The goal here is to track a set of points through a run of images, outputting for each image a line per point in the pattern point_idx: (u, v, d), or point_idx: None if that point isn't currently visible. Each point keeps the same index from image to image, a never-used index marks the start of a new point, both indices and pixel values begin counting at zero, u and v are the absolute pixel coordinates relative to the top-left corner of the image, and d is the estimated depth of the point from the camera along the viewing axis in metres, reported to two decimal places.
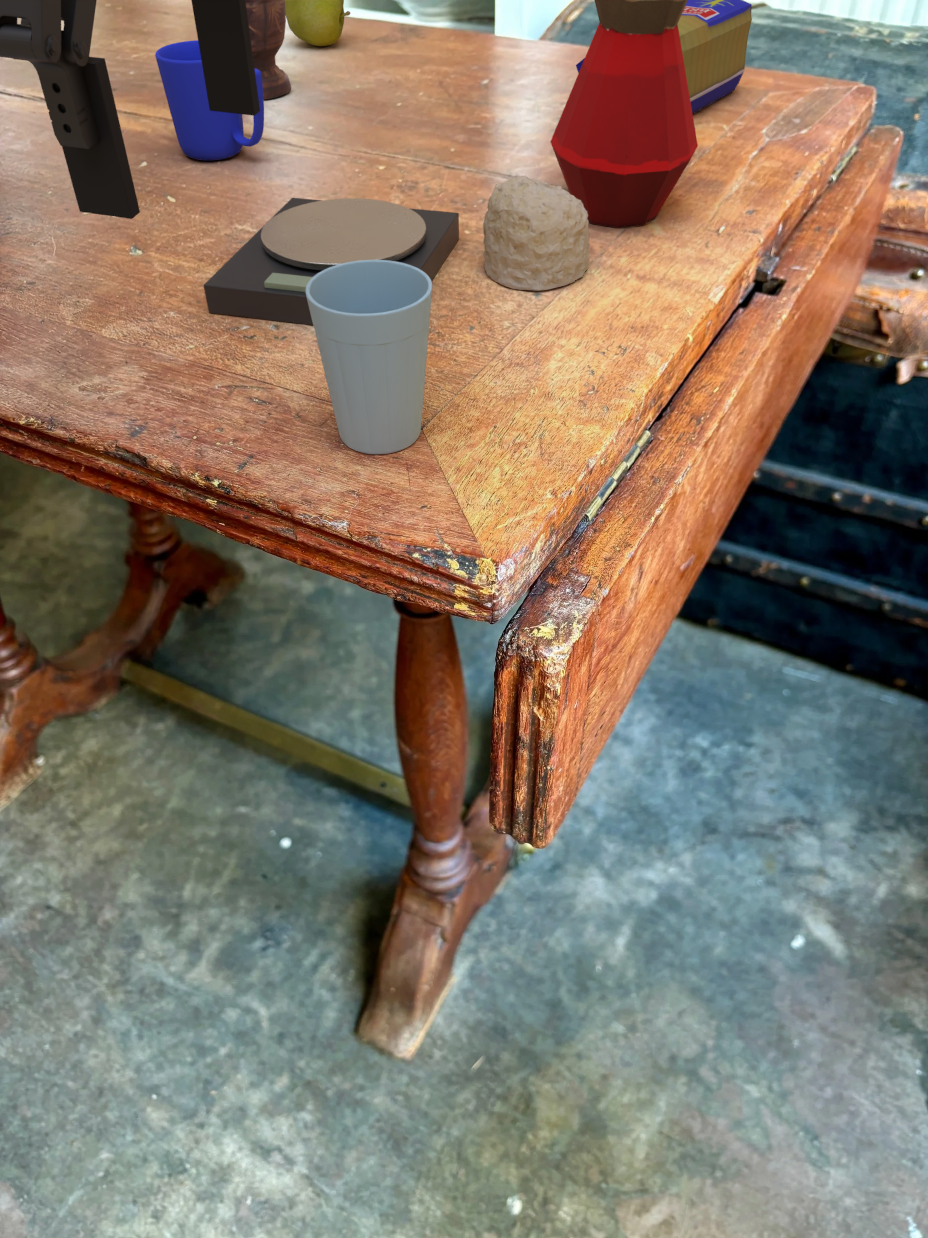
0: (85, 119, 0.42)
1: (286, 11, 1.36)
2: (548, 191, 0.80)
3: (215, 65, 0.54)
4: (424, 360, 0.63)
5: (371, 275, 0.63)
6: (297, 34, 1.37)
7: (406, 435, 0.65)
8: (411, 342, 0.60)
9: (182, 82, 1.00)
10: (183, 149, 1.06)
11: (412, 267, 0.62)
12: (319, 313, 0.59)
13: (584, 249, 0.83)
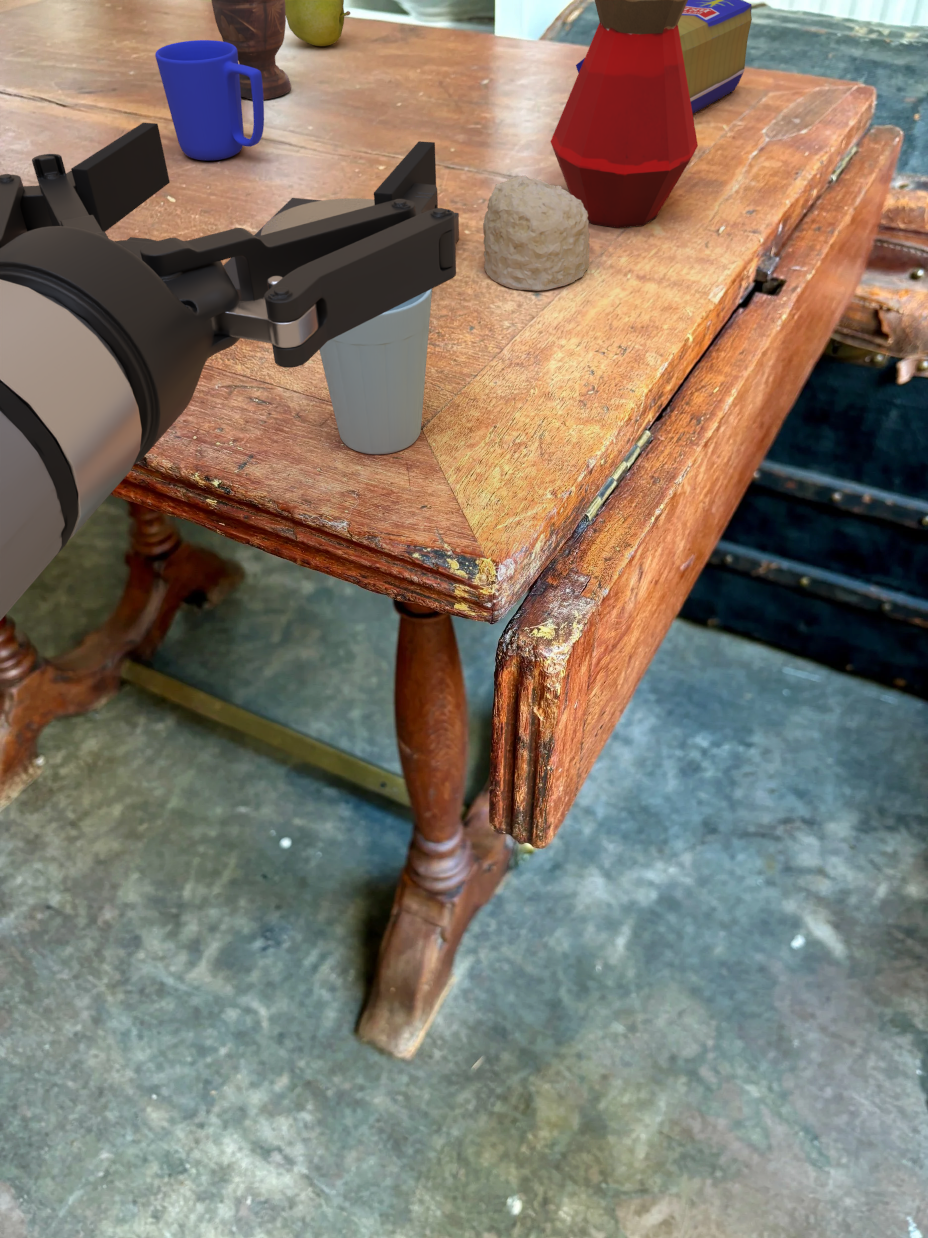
0: None
1: (286, 11, 1.36)
2: (548, 191, 0.80)
3: None
4: (424, 360, 0.63)
5: None
6: (297, 34, 1.37)
7: (406, 435, 0.65)
8: (411, 342, 0.60)
9: (182, 82, 1.00)
10: (183, 149, 1.06)
11: None
12: None
13: (584, 249, 0.83)
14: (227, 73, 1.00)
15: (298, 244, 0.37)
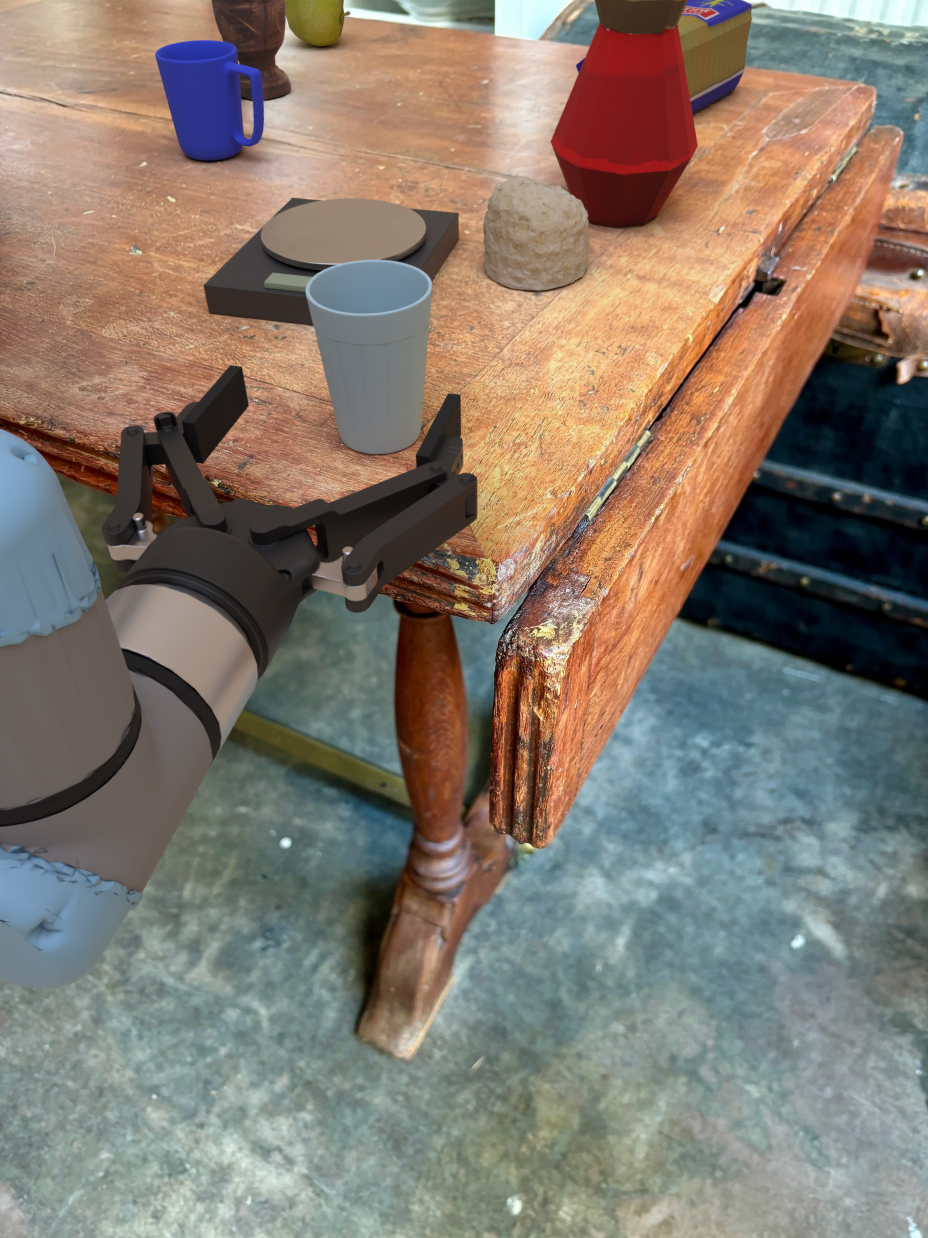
0: None
1: (286, 11, 1.36)
2: (548, 191, 0.80)
3: None
4: (424, 360, 0.63)
5: (371, 275, 0.63)
6: (297, 34, 1.37)
7: (406, 435, 0.65)
8: (411, 342, 0.60)
9: (182, 82, 1.00)
10: (183, 149, 1.06)
11: (412, 267, 0.62)
12: (319, 313, 0.59)
13: (584, 249, 0.83)
14: (227, 73, 1.00)
15: (361, 509, 0.50)
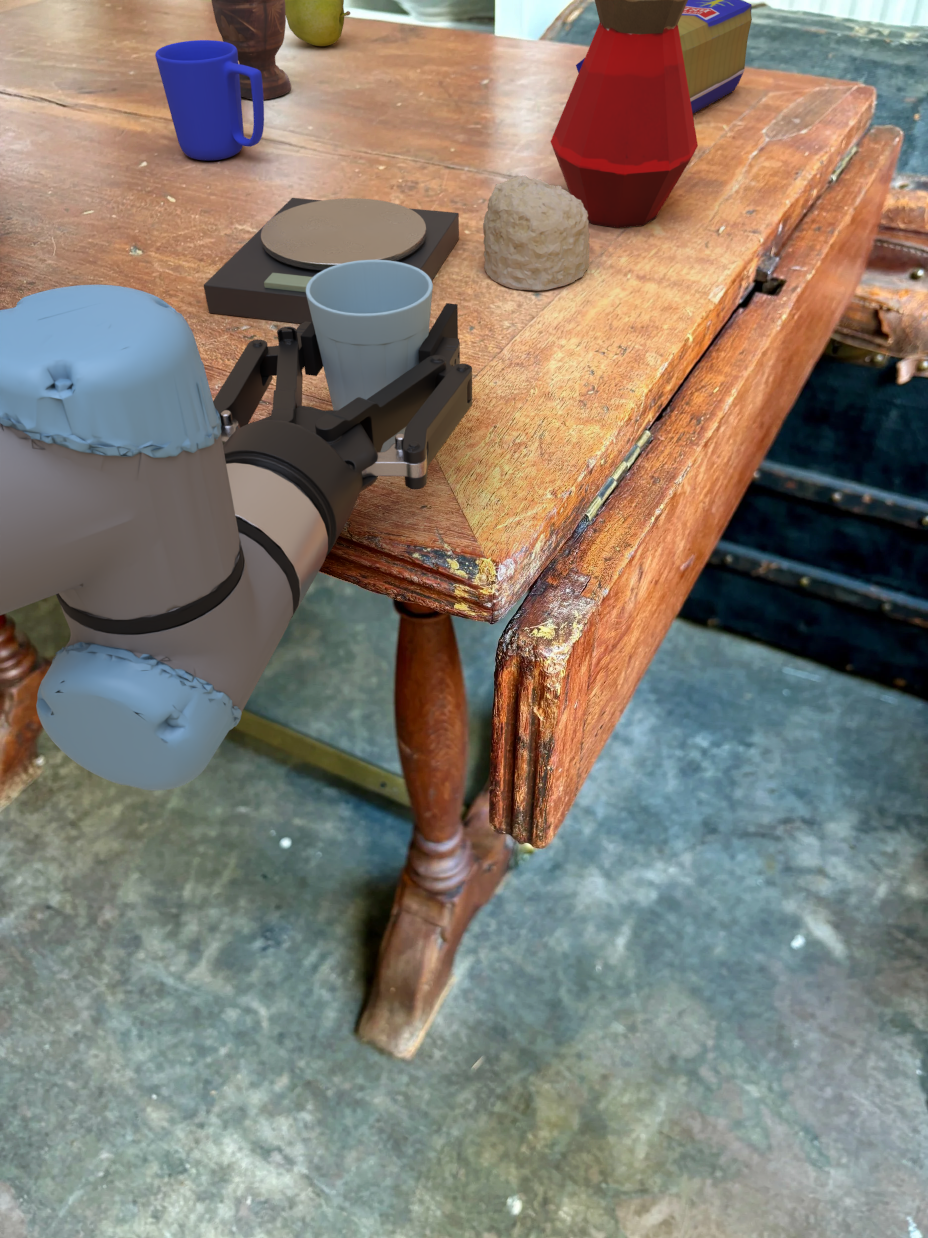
0: None
1: (286, 11, 1.36)
2: (548, 191, 0.80)
3: None
4: None
5: (371, 275, 0.63)
6: (297, 34, 1.37)
7: None
8: (411, 342, 0.60)
9: (182, 82, 1.00)
10: (183, 149, 1.06)
11: (412, 267, 0.62)
12: (319, 313, 0.59)
13: (584, 249, 0.83)
14: (227, 73, 1.00)
15: (394, 400, 0.57)
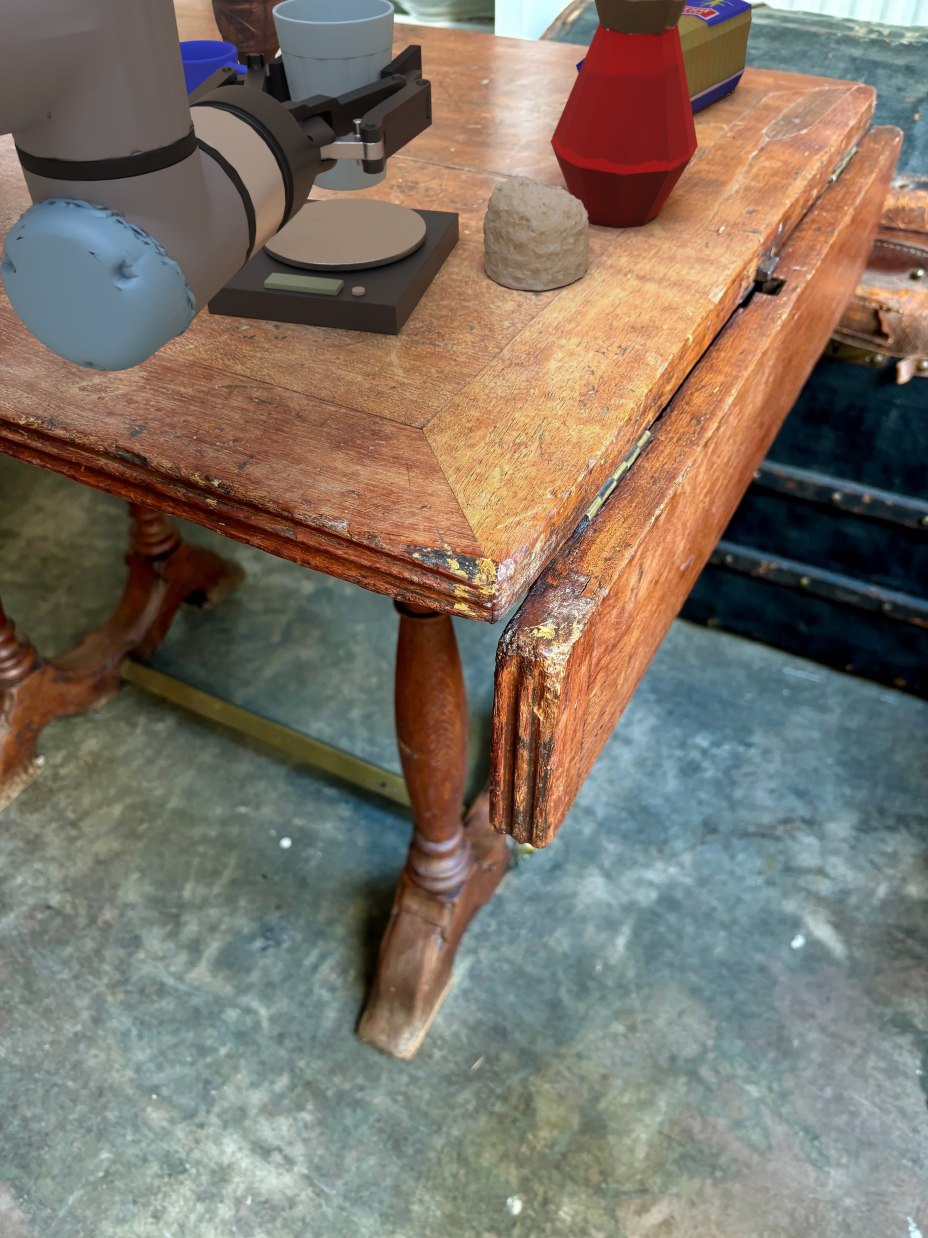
0: None
1: None
2: (548, 191, 0.80)
3: None
4: None
5: (337, 10, 0.66)
6: None
7: None
8: (373, 61, 0.63)
9: None
10: None
11: None
12: (285, 27, 0.61)
13: (584, 249, 0.83)
14: None
15: (354, 102, 0.60)
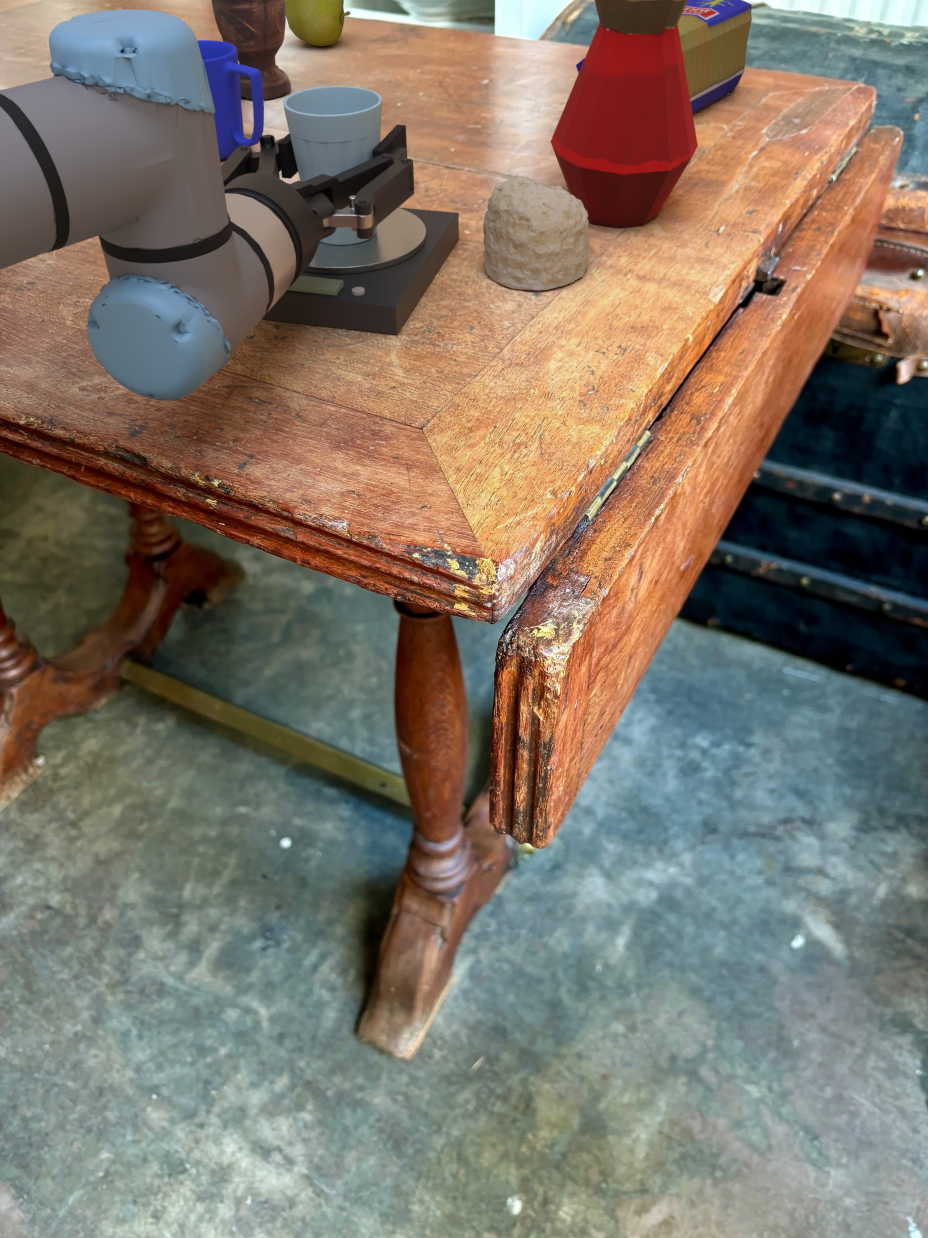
0: None
1: (286, 11, 1.36)
2: (548, 191, 0.80)
3: None
4: None
5: (335, 98, 0.81)
6: (297, 34, 1.37)
7: None
8: (365, 143, 0.77)
9: None
10: None
11: (367, 89, 0.79)
12: (293, 117, 0.76)
13: (584, 249, 0.83)
14: (227, 73, 1.00)
15: (350, 179, 0.74)
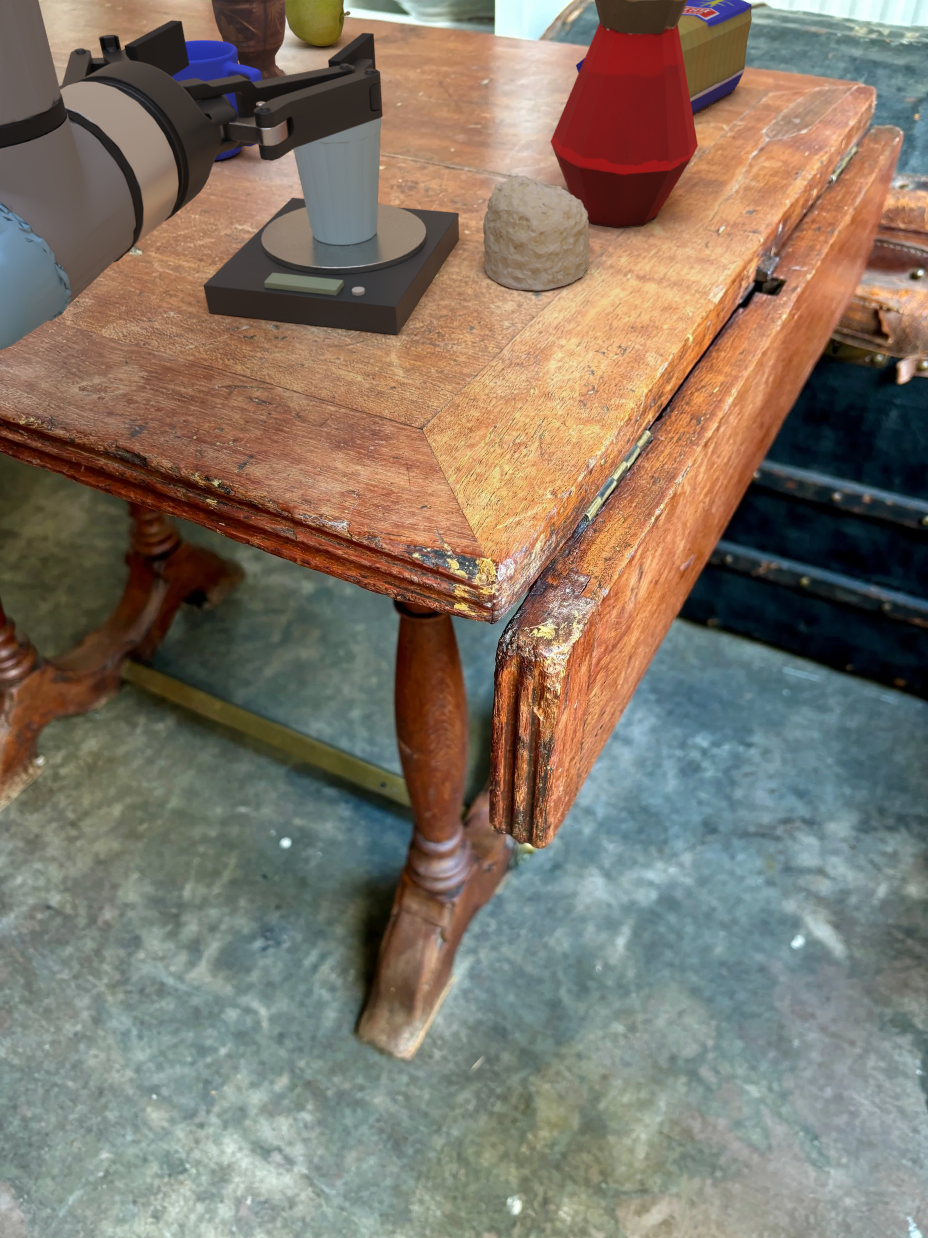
0: None
1: (286, 11, 1.36)
2: (548, 191, 0.80)
3: None
4: (377, 164, 0.80)
5: None
6: (297, 34, 1.37)
7: (364, 229, 0.82)
8: (365, 143, 0.77)
9: None
10: None
11: None
12: None
13: (584, 249, 0.83)
14: (227, 73, 1.00)
15: (276, 87, 0.57)
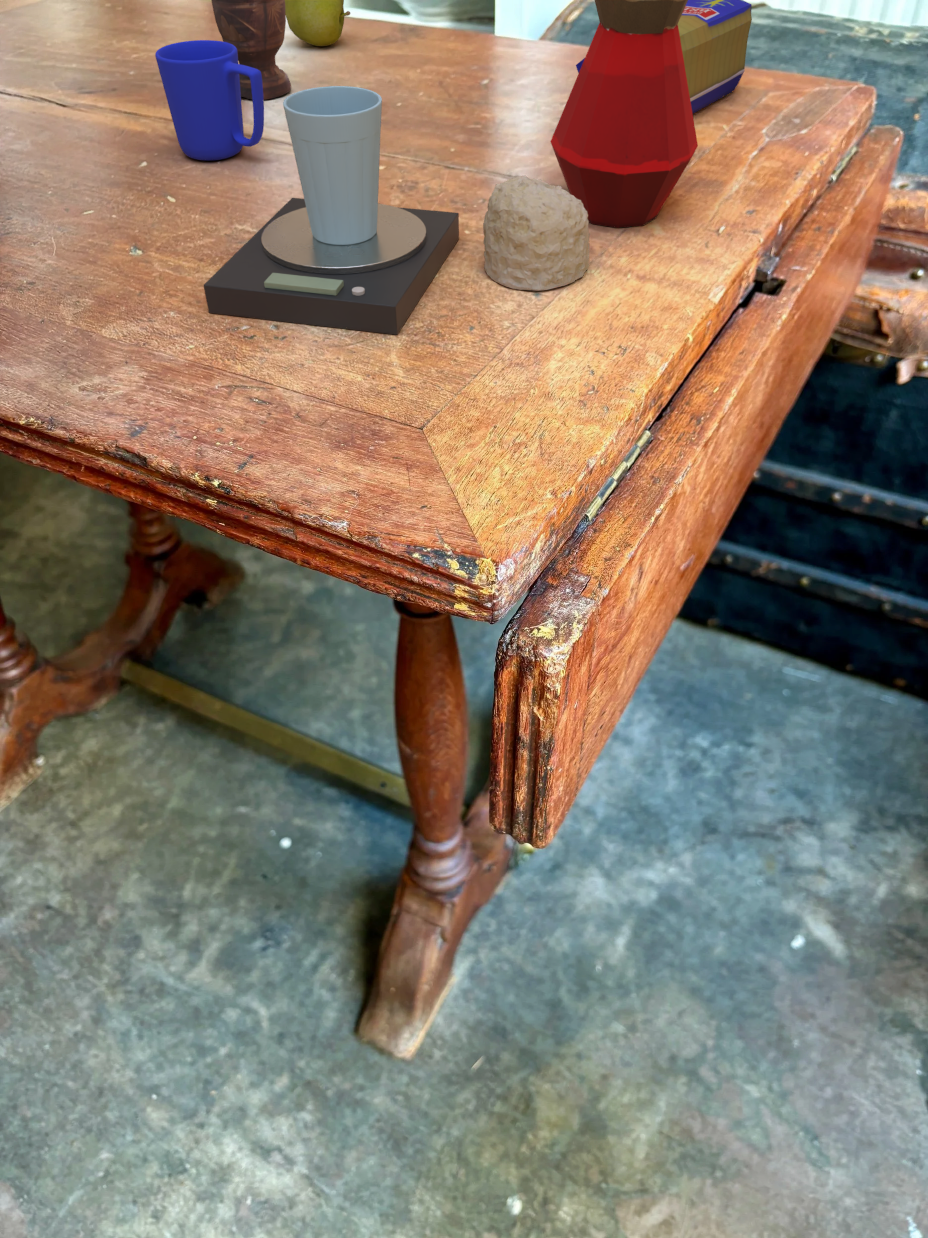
0: None
1: (286, 11, 1.36)
2: (548, 191, 0.80)
3: None
4: (377, 164, 0.80)
5: (335, 98, 0.81)
6: (297, 34, 1.37)
7: (364, 229, 0.82)
8: (365, 143, 0.77)
9: (182, 82, 1.00)
10: (183, 149, 1.06)
11: (367, 90, 0.79)
12: (293, 118, 0.76)
13: (584, 249, 0.83)
14: (227, 73, 1.00)
15: None
